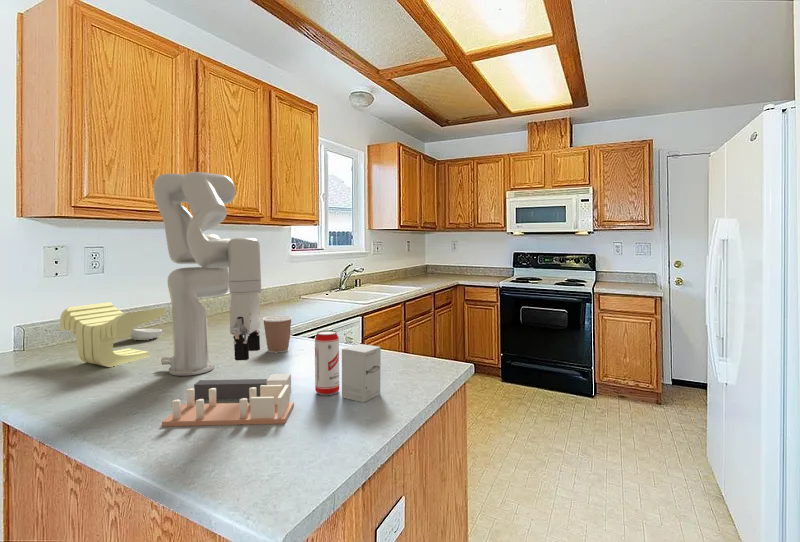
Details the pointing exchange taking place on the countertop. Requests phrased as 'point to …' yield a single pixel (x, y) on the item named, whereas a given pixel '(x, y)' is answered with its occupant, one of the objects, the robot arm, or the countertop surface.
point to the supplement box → (361, 372)
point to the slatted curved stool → (105, 331)
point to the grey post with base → (238, 387)
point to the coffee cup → (277, 332)
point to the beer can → (327, 362)
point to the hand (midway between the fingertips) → (248, 355)
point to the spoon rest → (145, 334)
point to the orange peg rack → (233, 409)
